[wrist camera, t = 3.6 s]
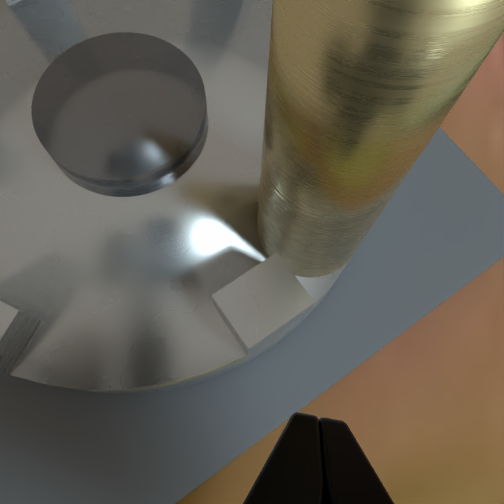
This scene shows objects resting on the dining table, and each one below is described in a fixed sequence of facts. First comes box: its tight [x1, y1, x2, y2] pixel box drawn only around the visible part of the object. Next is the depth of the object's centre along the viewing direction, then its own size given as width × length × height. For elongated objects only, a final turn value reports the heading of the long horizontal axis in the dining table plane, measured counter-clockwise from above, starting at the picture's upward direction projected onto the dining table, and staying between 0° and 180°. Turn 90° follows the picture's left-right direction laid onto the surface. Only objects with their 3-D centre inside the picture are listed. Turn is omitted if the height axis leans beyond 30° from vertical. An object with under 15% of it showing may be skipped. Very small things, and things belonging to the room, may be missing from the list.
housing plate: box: [0, 127, 504, 504], centre depth 18 cm, size 20×20×2 cm
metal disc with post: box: [0, 0, 504, 394], centre depth 11 cm, size 16×16×12 cm
